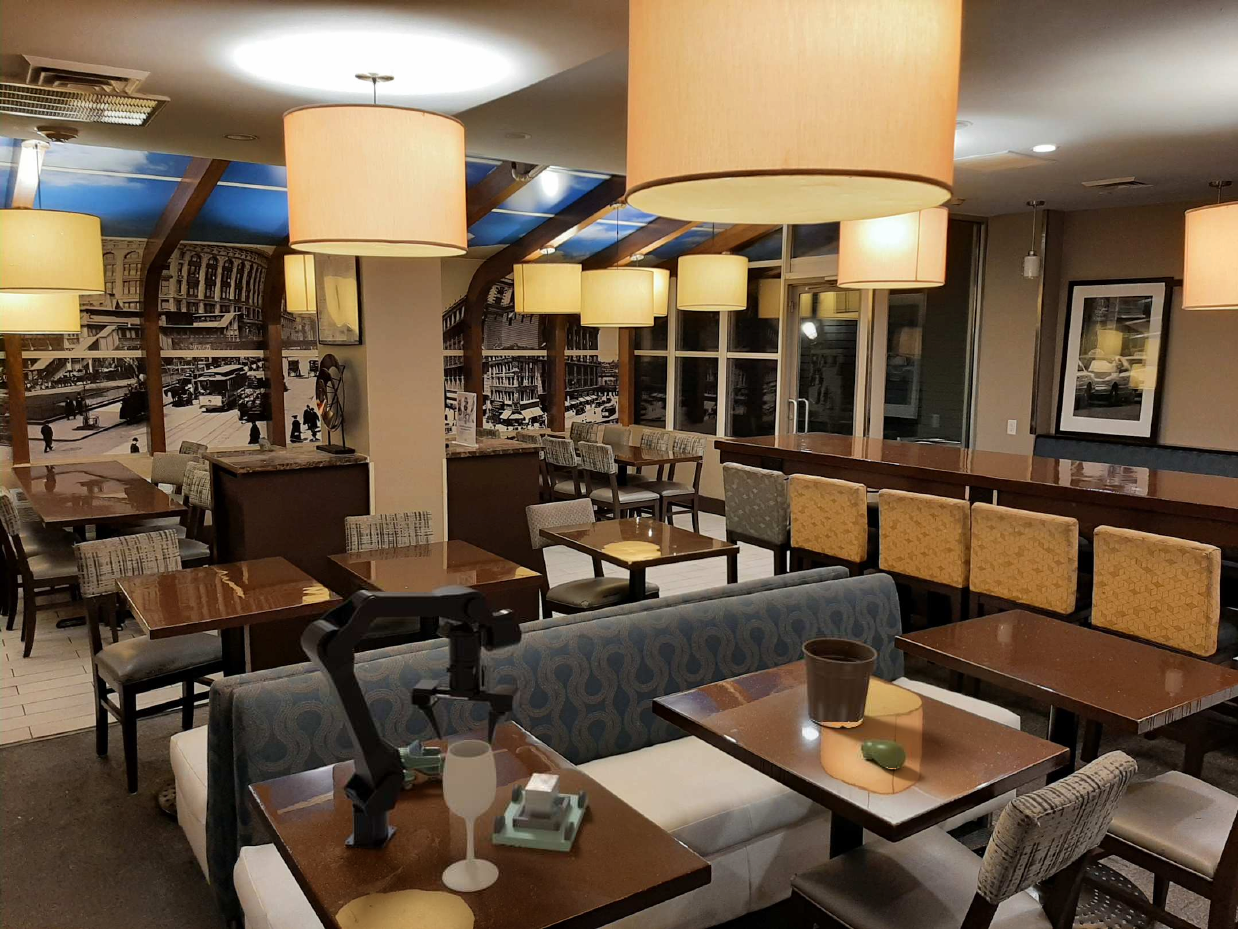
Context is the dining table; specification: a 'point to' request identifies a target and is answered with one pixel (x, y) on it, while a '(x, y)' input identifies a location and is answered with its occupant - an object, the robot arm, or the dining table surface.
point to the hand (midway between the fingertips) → (465, 741)
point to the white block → (542, 796)
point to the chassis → (540, 823)
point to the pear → (884, 752)
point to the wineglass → (469, 808)
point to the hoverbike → (421, 762)
